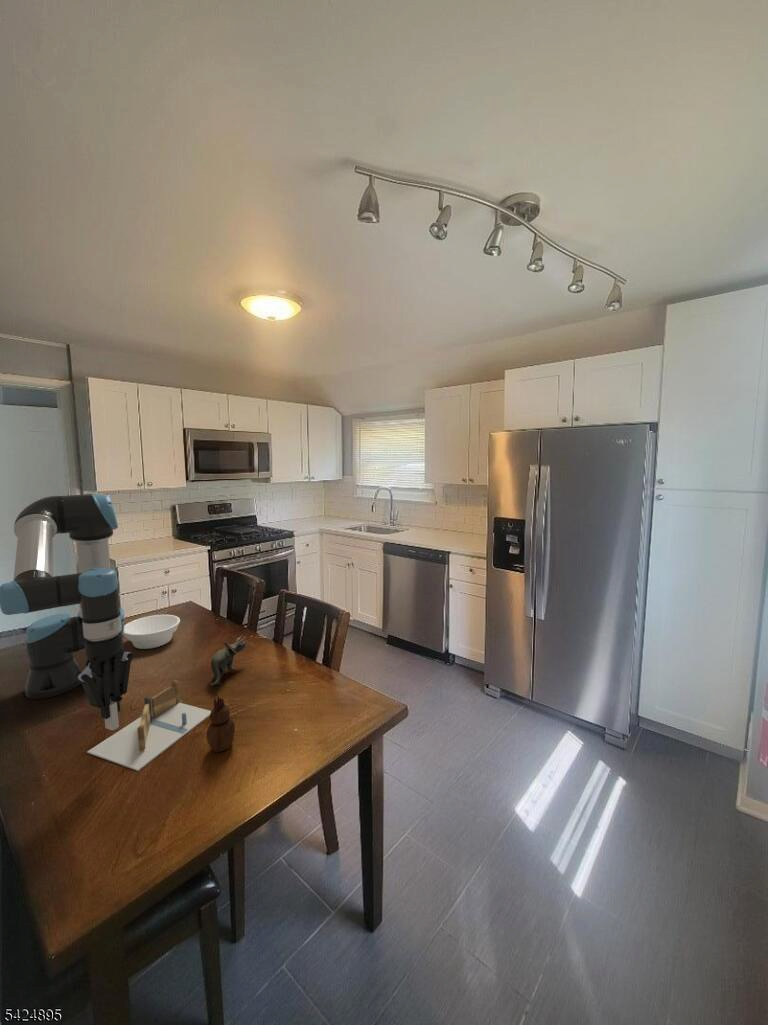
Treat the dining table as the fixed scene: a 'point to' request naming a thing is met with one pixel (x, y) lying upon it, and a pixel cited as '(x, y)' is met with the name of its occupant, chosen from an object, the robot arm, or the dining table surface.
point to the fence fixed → (163, 700)
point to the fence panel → (144, 727)
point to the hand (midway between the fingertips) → (112, 727)
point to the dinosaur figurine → (225, 659)
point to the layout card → (150, 736)
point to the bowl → (151, 630)
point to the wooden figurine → (220, 727)
